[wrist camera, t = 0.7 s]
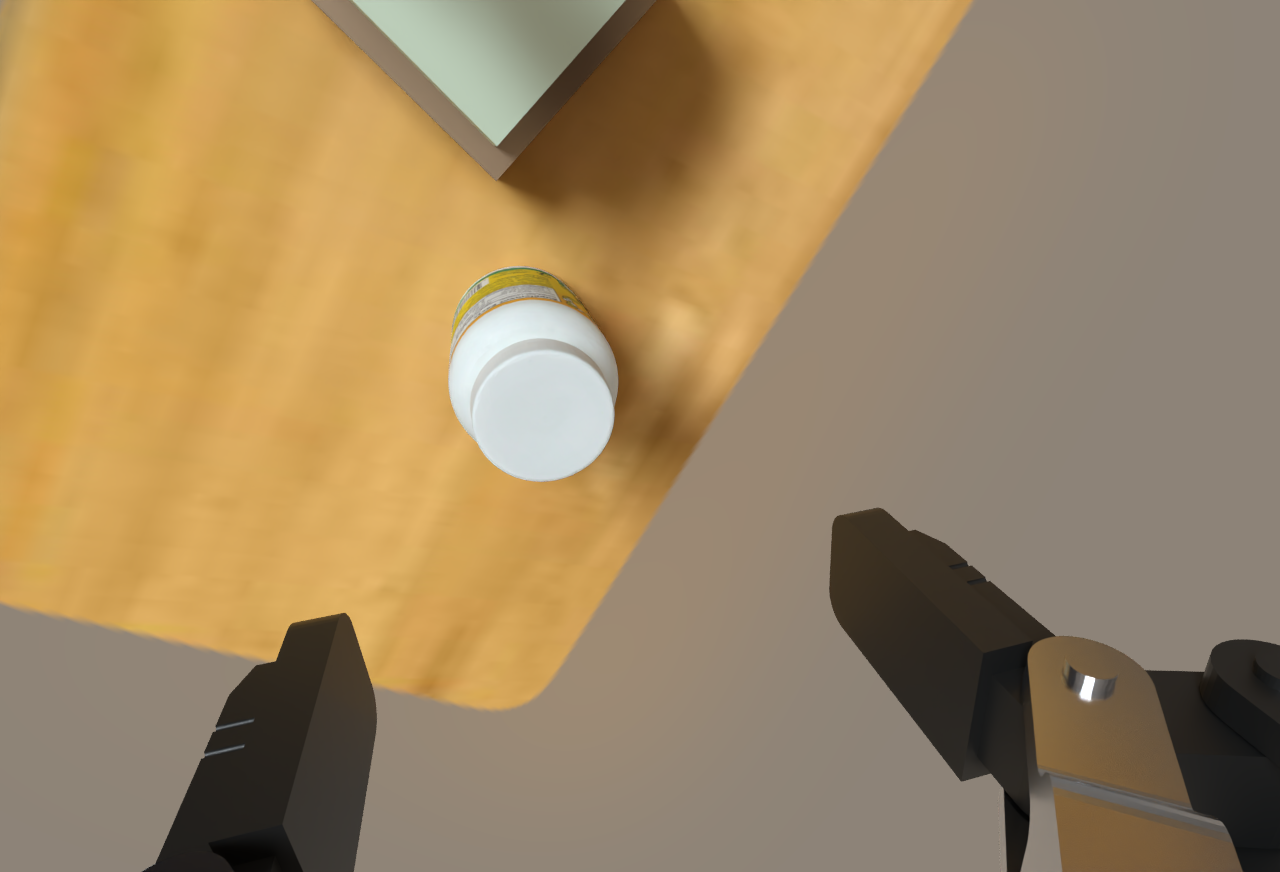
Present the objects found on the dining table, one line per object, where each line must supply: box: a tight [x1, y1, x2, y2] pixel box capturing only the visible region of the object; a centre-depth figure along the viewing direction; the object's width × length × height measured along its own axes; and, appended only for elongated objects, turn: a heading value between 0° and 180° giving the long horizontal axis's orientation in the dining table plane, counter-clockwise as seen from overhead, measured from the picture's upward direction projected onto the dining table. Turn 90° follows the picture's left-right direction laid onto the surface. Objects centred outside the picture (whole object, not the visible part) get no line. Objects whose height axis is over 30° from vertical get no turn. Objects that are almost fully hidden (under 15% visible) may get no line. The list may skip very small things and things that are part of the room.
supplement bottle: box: [448, 266, 618, 482], centre depth 23 cm, size 5×5×10 cm
